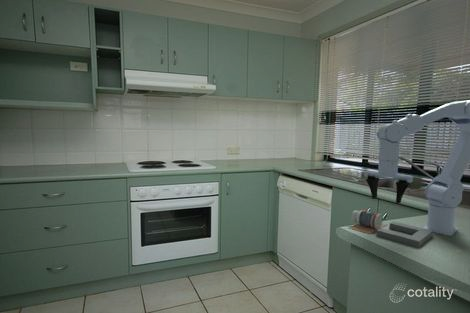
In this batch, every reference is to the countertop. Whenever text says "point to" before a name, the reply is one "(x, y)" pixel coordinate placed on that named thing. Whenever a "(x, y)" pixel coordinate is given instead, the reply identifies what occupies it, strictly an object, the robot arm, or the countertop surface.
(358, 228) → the rubber pad
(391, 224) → the socket dock
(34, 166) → the countertop surface
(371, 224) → the pill bottle
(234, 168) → the countertop surface
